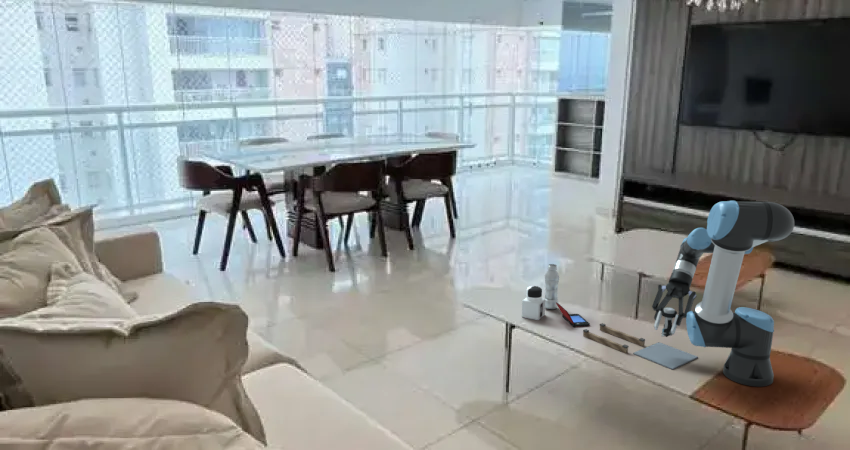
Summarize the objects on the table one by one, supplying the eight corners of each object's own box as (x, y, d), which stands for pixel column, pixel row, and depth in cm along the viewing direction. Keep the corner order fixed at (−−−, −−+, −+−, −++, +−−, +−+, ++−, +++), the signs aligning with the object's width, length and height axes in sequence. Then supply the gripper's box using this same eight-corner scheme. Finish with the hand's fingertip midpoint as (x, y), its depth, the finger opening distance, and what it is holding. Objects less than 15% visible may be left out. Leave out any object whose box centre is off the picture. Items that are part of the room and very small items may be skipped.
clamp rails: (644, 345, 232) (645, 339, 232) (625, 353, 226) (625, 346, 225) (602, 329, 248) (602, 323, 247) (582, 336, 241) (583, 329, 241)
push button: (668, 339, 218) (670, 313, 216) (654, 335, 222) (656, 309, 220) (678, 335, 222) (680, 309, 220) (664, 330, 226) (666, 305, 224)
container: (545, 314, 264) (546, 286, 261) (538, 320, 257) (539, 291, 255) (528, 311, 268) (529, 283, 265) (521, 317, 261) (522, 288, 259)
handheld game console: (590, 326, 251) (591, 309, 250) (565, 328, 250) (566, 311, 248) (578, 315, 263) (579, 299, 262) (554, 317, 262) (555, 301, 260)
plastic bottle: (542, 310, 269) (544, 267, 265) (543, 305, 276) (545, 262, 271) (557, 311, 268) (559, 268, 263) (558, 306, 274) (560, 263, 270)
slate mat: (697, 357, 221) (697, 356, 221) (672, 369, 212) (672, 368, 212) (658, 343, 234) (658, 342, 234) (633, 353, 225) (633, 352, 225)
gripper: (709, 285, 224) (692, 341, 216) (659, 275, 235) (640, 328, 227) (707, 275, 219) (688, 332, 210) (655, 265, 230) (636, 319, 222)
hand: (663, 330), depth 219 cm, fingers closed on push button, 5 cm apart
